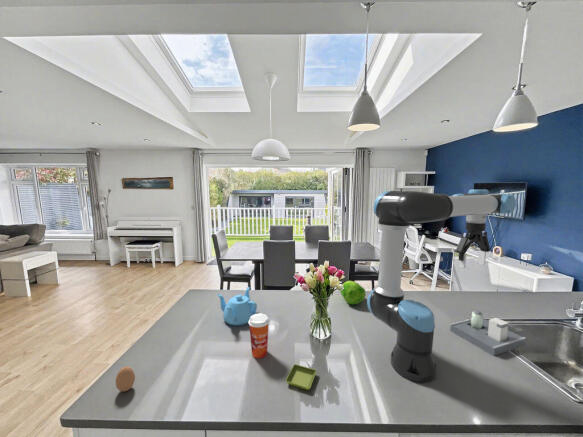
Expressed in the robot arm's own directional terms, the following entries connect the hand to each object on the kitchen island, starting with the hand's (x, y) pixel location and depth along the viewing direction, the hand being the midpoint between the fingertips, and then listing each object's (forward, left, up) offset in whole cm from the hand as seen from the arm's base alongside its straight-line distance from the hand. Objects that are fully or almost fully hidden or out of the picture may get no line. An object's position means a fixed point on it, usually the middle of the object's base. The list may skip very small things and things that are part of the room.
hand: (471, 265), depth 116 cm
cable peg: (-5, -8, -29) cm, 30 cm away
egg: (-147, +8, -29) cm, 150 cm away
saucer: (-91, -7, -29) cm, 96 cm away
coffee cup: (-102, +11, -29) cm, 107 cm away
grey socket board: (-5, -12, -29) cm, 32 cm away
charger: (-5, -16, -29) cm, 33 cm away
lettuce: (-41, +39, -29) cm, 64 cm away
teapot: (-107, +41, -29) cm, 118 cm away
